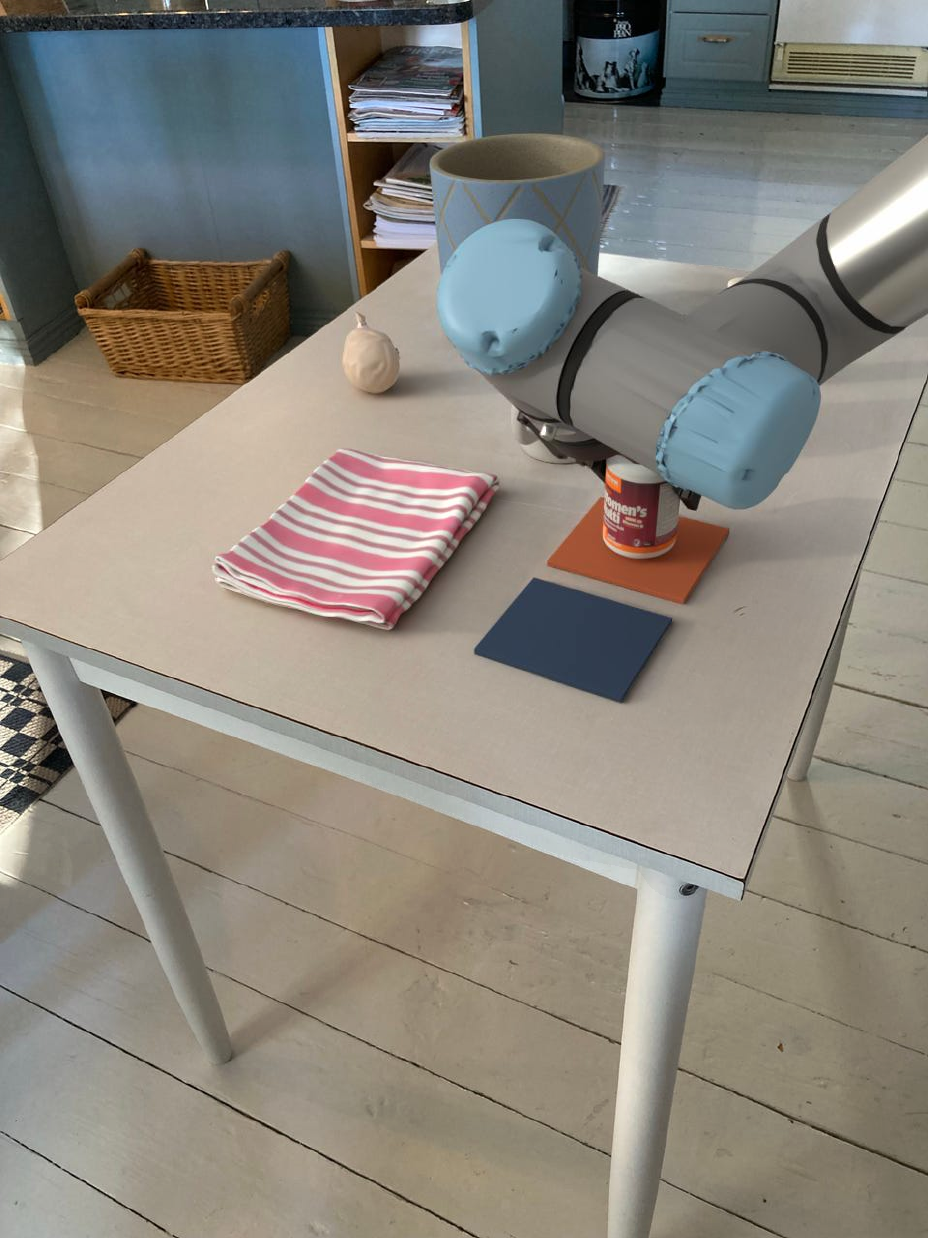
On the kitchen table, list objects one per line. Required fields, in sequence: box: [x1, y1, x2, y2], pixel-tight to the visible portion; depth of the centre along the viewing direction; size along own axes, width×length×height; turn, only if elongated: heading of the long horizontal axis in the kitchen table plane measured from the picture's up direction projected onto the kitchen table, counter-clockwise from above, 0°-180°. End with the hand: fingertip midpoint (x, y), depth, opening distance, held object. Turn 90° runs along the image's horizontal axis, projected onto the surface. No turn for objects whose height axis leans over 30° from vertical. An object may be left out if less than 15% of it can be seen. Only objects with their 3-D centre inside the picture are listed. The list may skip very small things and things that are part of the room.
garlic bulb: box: [341, 310, 401, 394], centre depth 108 cm, size 7×6×8 cm
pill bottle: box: [603, 455, 681, 559], centre depth 80 cm, size 6×6×11 cm
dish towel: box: [211, 447, 500, 631], centre depth 87 cm, size 17×23×4 cm
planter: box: [429, 133, 606, 276], centre depth 114 cm, size 19×19×20 cm
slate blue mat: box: [473, 577, 673, 704], centre depth 76 cm, size 12×10×1 cm
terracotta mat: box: [546, 496, 730, 605], centre depth 84 cm, size 12×11×1 cm
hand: (657, 485), depth 84 cm, fingers closed on pill bottle, 6 cm apart
